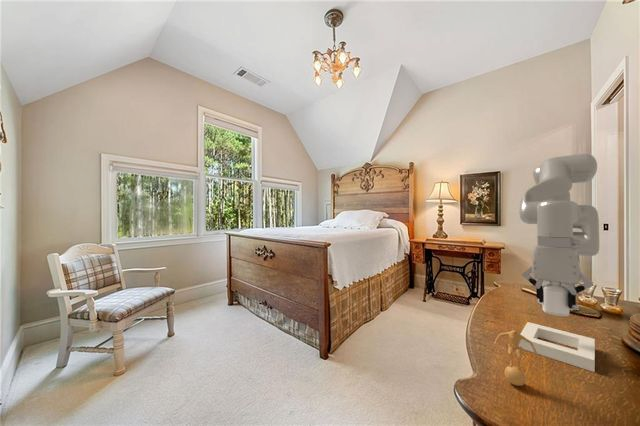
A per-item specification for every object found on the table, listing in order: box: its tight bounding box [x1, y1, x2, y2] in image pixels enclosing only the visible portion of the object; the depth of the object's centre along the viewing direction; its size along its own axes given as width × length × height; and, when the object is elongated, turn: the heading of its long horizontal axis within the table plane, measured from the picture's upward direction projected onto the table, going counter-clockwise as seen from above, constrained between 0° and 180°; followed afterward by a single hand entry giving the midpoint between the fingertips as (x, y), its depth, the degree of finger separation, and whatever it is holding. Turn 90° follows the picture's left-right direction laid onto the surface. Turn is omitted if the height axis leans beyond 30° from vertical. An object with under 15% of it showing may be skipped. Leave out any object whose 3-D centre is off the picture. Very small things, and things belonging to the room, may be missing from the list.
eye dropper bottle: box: [541, 281, 571, 317], centre depth 71 cm, size 4×6×12 cm
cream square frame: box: [519, 321, 596, 373], centre depth 71 cm, size 15×15×3 cm
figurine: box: [493, 329, 539, 387], centre depth 58 cm, size 8×6×12 cm
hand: (555, 303), depth 71 cm, fingers closed on eye dropper bottle, 5 cm apart
